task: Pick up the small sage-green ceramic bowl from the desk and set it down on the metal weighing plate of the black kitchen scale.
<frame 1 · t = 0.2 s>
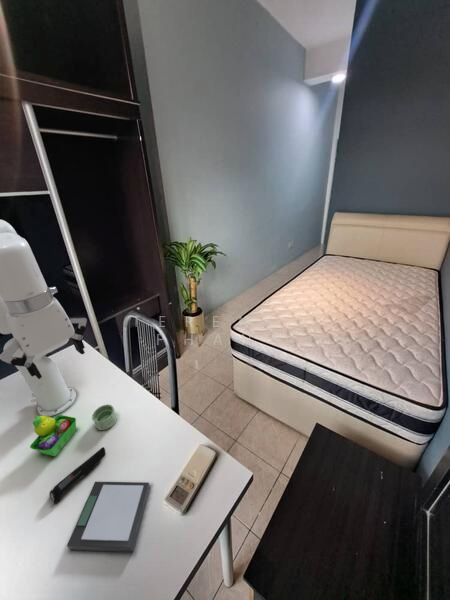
hand: (60, 363, 59), 37 cm above the table, tool pointing down, fingers open, 9 cm apart
fruit basket: (58, 441, 81), on the table
scale: (113, 515, 62), on the table
electric trimmer: (80, 475, 71), on the table
bowl: (106, 421, 86), on the table
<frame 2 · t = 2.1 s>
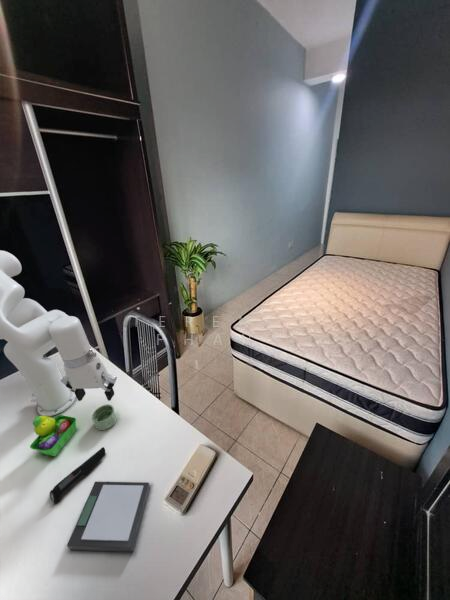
hand: (96, 397, 79), 13 cm above the table, tool pointing down, fingers open, 9 cm apart
nothing on the table moved.
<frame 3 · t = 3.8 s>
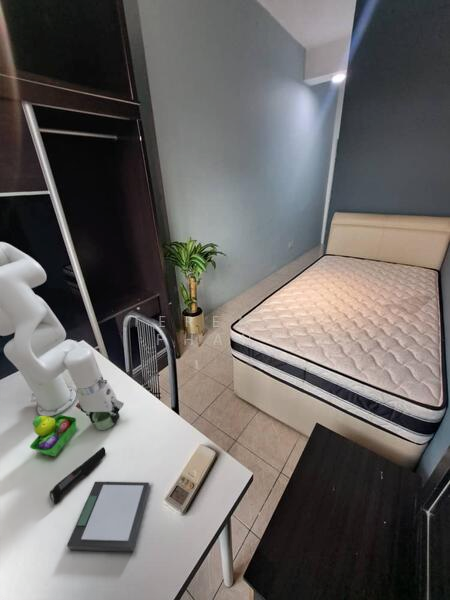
hand: (105, 419, 85), 1 cm above the table, tool pointing down, fingers closed on bowl, 6 cm apart
bowl: (106, 421, 86), on the table, touching gripper
everything else where it was.
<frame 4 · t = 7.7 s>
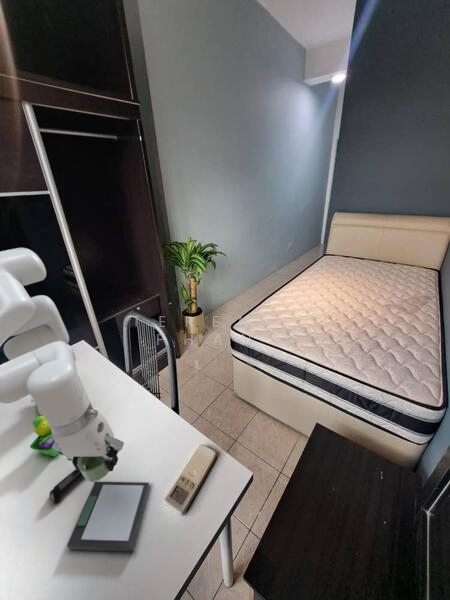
hand: (98, 464, 58), 16 cm above the table, tool pointing down, fingers closed on bowl, 6 cm apart
bowl: (99, 466, 59), point 15 cm above the table, touching gripper
everything else where it was.
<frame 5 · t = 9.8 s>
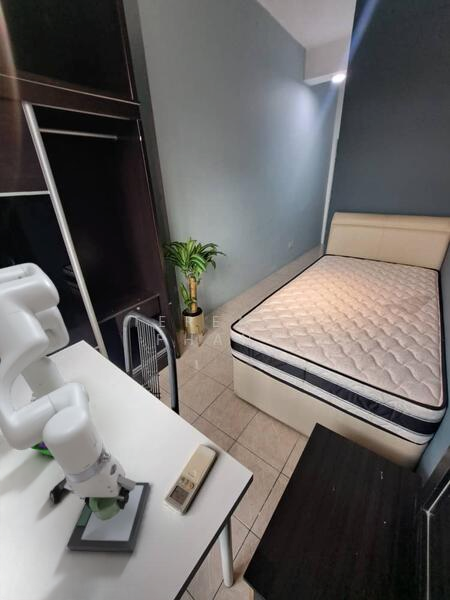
hand: (109, 501, 59), 8 cm above the table, tool pointing down, fingers closed on bowl, 6 cm apart
bowl: (110, 503, 59), point 7 cm above the table, touching gripper
everything else where it was.
when the fingers open (4 cm above the table, at t = 11.4 s): bowl stays where it is, resting on scale.
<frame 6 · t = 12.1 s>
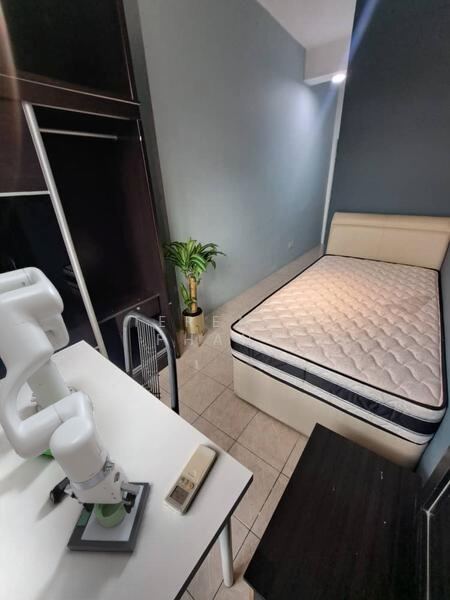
hand: (111, 505, 60), 5 cm above the table, tool pointing down, fingers open, 9 cm apart
bowl: (114, 510, 61), point 3 cm above the table, touching scale
everything else where it was.
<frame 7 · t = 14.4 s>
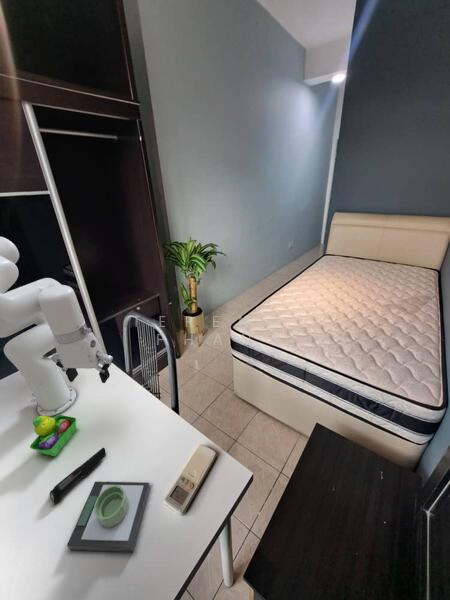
hand: (90, 378, 72), 24 cm above the table, tool pointing down, fingers open, 9 cm apart
nothing on the table moved.
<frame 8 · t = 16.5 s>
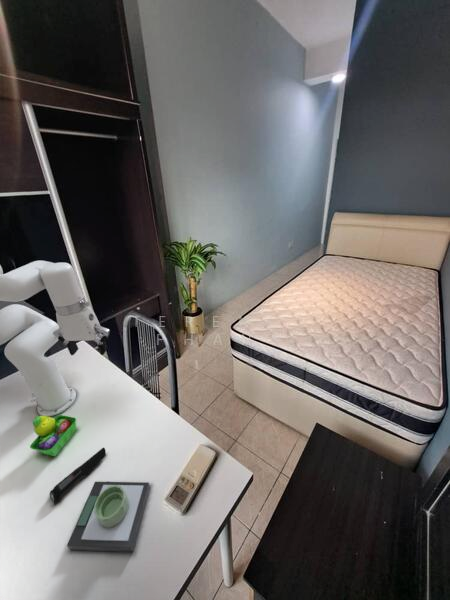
hand: (89, 352, 79), 26 cm above the table, tool pointing down, fingers open, 9 cm apart
nothing on the table moved.
at the end: bowl inside the target area on the scale (0.0 cm from its centre), point 3.0 cm above the scale's base; bowl tilted 0°; the gripper is holding nothing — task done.
